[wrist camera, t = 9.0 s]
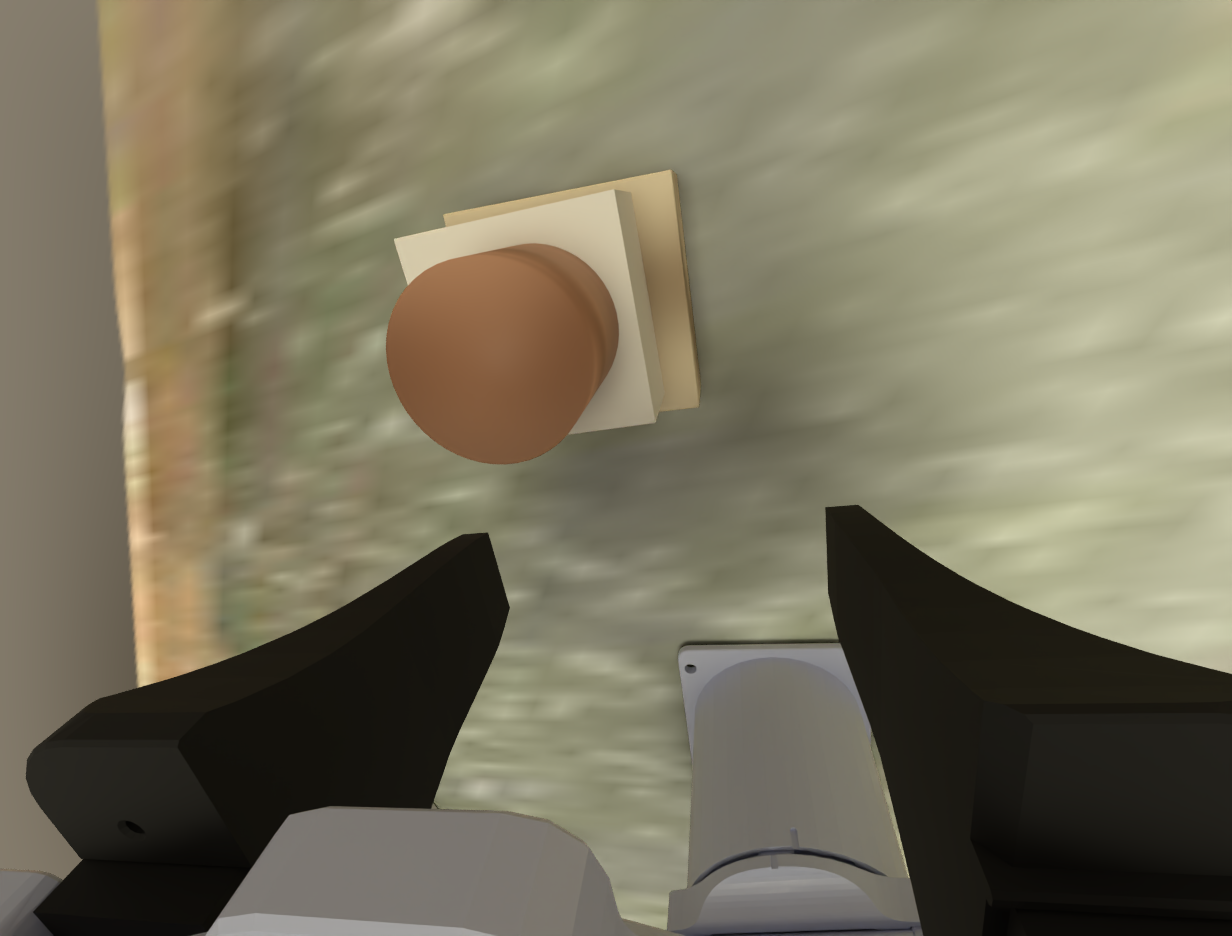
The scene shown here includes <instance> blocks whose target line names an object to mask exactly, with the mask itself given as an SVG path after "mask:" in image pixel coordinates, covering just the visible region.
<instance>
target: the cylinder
mask: <svg viewBox="0 0 1232 936" xmlns="http://www.w3.org/2000/svg"><path fill="white" fill-rule="evenodd" d="M618 340H619V324H618V318H617V312H616V309H615V306H614V302H613V300H612V298H611V295H610V293H609V291H608V289H607V288H606V286H605V284H604V283H603V281H602V280H601V279H600V277H599V276H598V275H597V274H596V272H595V271H594V270H593V269H592V268H591V267H590V266H589V265H588V264H586V263H585V262H584V261H582V260H581V259H580V258H578V257H577V256H575V255H573V254H572V253H570V252H568V251H566V250H563V249H561V248H558V247H555V246H551V245H547V244H537V243H531V244H521V245H515V246H510V247H506V248H501V249H496V250H492V251H487V252H482V253H477V254H473V255H468V256H463V257H459V258H454V259H449V260H447V261H444V262H441V263H438V264H436V265H434V266H432V267H430V268H429V269H427V270H425V271H424V272H422V273H421V274H420V275H419V276H417V277H416V278H415V279H414V280H413V281H412V282H411V283H410V284H409V285H408V286H407V287H406V288H405V290H404V291H403V293H402V294H401V296H400V297H399V299H398V301H397V303H396V305H395V307H394V309H393V311H392V314H391V318H390V321H389V325H388V330H387V338H386V354H387V364H388V368H389V373H390V377H391V380H392V383H393V386H394V389H395V391H396V393H397V395H398V397H399V400H400V401H401V403H402V405H403V406H404V408H405V410H406V411H407V413H408V414H409V415H410V417H411V418H412V419H413V421H414V422H415V423H416V424H417V425H418V426H419V427H420V428H421V429H422V431H423V432H424V433H426V434H427V435H428V436H429V437H430V438H431V439H433V440H434V441H435V442H437V443H438V444H440V445H441V446H443V447H444V448H446V449H448V450H449V451H451V452H453V453H455V454H457V455H460V456H462V457H465V458H467V459H470V460H474V461H478V462H482V463H489V464H512V463H519V462H523V461H527V460H530V459H533V458H536V457H538V456H540V455H542V454H544V453H546V452H547V451H549V450H551V449H552V448H553V447H555V446H556V445H557V444H559V443H560V442H561V441H562V440H563V439H564V438H565V437H566V436H567V435H568V433H569V432H570V431H571V429H572V428H573V426H574V425H575V424H576V422H577V421H578V419H579V418H580V416H581V414H582V413H583V411H584V410H585V408H586V407H587V405H588V404H589V402H590V401H591V399H592V398H593V396H594V394H595V393H596V391H597V390H598V388H599V387H600V385H601V384H602V382H603V381H604V379H605V378H606V376H607V374H608V373H609V371H610V369H611V367H612V365H613V362H614V359H615V356H616V352H617V348H618Z"/></svg>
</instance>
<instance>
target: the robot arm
mask: <svg viewBox="0 0 1232 936" xmlns="http://www.w3.org/2000/svg"><path fill="white" fill-rule="evenodd" d="M825 509H826V539H827V569H828V594H829V598H830V603H831V608H832V612H833V617H834V622H835V626H836V630H837V635H838V638H839V641H840V643H807V644H743V645H688V646H684V647H682V648H681V649H680V650H679V654H678V663H679V671H680V678H681V685H682V693H683V700H684V707H685V715H686V722H687V729H688V737H689V744H690V751H691V759H692V766H693V768H692V791H691V814H690V837H689V860H688V883H687V888H686V889H682V890H674V891H671V892H670V894H669V908H668V922H667V930H663V929H659V928H656V927H652V926H648V925H645V924H641V923H638V922H634V921H630V920H626V919H622V918H621V916H620V914H619V912H618V909H617V905H616V902H615V898H614V894H613V891H612V887H611V883H610V879H609V877H608V875H607V874H606V872H605V871H604V869H603V868H602V866H601V865H600V863H599V862H598V860H597V859H596V857H595V856H594V854H593V853H592V851H591V850H590V848H589V847H588V846H587V844H586V843H585V842H584V841H583V840H581V839H580V838H578V837H576V836H575V835H573V834H571V833H570V832H568V831H567V830H565V829H563V828H562V827H560V826H558V825H557V824H555V823H553V822H552V821H550V820H548V819H543V818H538V817H533V816H529V815H524V814H519V813H514V812H509V811H489V810H453V809H431V808H432V805H433V801H434V798H435V795H436V792H437V789H438V787H439V784H440V781H441V778H442V775H443V772H444V769H445V766H446V763H447V760H448V757H449V755H450V752H451V750H452V747H453V745H454V742H455V740H456V738H457V735H458V733H459V731H460V729H461V727H462V724H463V722H464V720H465V718H466V716H467V714H468V712H469V710H470V707H471V705H472V703H473V701H474V699H475V697H476V695H477V692H478V690H479V688H480V686H481V684H482V682H483V680H484V678H485V675H486V673H487V671H488V669H489V667H490V664H491V662H492V660H493V658H494V656H495V653H496V651H497V649H498V646H499V643H500V640H501V637H502V634H503V630H504V627H505V623H506V620H507V616H508V612H509V609H510V607H509V603H508V600H507V597H506V593H505V590H504V586H503V583H502V579H501V576H500V572H499V569H498V565H497V562H496V559H495V555H494V552H493V548H492V545H491V541H490V538H489V534H488V533H476V534H463V535H461V536H459V537H457V538H454V539H453V540H451V541H449V542H447V543H445V544H444V545H442V546H440V547H439V548H437V549H436V550H434V551H432V552H431V553H429V554H428V555H426V556H425V557H423V558H421V559H420V560H418V561H417V562H415V563H414V564H412V565H410V566H409V567H407V568H406V569H404V570H403V571H401V572H400V573H398V574H396V575H395V576H393V577H392V578H390V579H389V580H387V581H385V582H384V583H382V584H380V585H379V586H377V587H375V588H374V589H372V590H370V591H369V592H367V593H365V594H364V595H362V596H360V597H359V598H357V599H355V600H354V601H352V602H350V603H349V604H347V605H345V606H343V607H341V608H340V609H338V610H336V611H334V612H332V613H330V614H328V615H326V616H325V617H323V618H320V619H318V620H316V621H314V622H312V623H310V624H308V625H306V626H304V627H302V628H300V629H298V630H296V631H294V632H292V633H289V634H287V635H285V636H282V637H280V638H278V639H275V640H273V641H271V642H268V643H266V644H264V645H261V646H259V647H257V648H254V649H252V650H250V651H247V652H245V653H242V654H240V655H237V656H234V657H232V658H229V659H226V660H224V661H221V662H218V663H216V664H213V665H210V666H207V667H204V668H201V669H198V670H195V671H192V672H189V673H186V674H183V675H180V676H177V677H174V678H171V679H167V680H164V681H160V682H157V683H153V684H150V685H146V686H143V687H139V688H136V689H132V690H129V691H125V692H122V693H118V694H115V695H111V696H108V697H103V698H100V699H98V700H96V701H94V702H92V703H91V704H89V705H88V706H86V707H85V708H84V709H82V710H81V711H80V712H79V713H77V714H76V715H75V716H74V717H73V718H71V719H70V720H69V721H68V722H66V723H65V724H64V725H63V726H61V727H60V728H59V729H58V730H56V731H55V732H54V733H53V734H52V735H50V736H49V737H48V738H47V739H46V740H44V741H43V742H42V743H40V744H39V745H38V746H37V747H36V748H34V749H33V751H32V753H31V754H30V756H29V757H28V759H27V768H26V780H27V783H28V786H29V789H30V792H31V794H32V795H33V797H34V799H35V800H36V802H37V803H38V805H39V806H40V808H41V809H42V810H43V811H44V813H45V814H46V815H47V817H48V818H49V819H50V820H51V822H52V823H53V824H54V825H55V827H56V828H57V829H58V831H59V832H60V833H61V834H62V836H63V837H64V838H65V839H66V841H67V842H68V843H69V844H70V846H71V847H72V848H73V849H74V851H75V852H76V853H77V854H78V856H79V857H80V858H81V859H83V860H82V861H81V862H80V863H79V864H78V865H77V866H76V867H75V868H74V869H73V870H72V871H71V873H70V874H69V875H68V876H67V877H66V878H65V879H64V880H62V879H60V878H59V877H57V876H55V875H53V874H51V873H47V872H43V871H32V870H16V869H0V936H1232V674H1229V673H1225V672H1221V671H1217V670H1213V669H1209V668H1206V667H1202V666H1198V665H1194V664H1190V663H1186V662H1182V661H1178V660H1174V659H1170V658H1167V657H1163V656H1159V655H1156V654H1152V653H1149V652H1145V651H1142V650H1139V649H1136V648H1133V647H1130V646H1127V645H1123V644H1120V643H1117V642H1114V641H1111V640H1108V639H1105V638H1101V637H1099V636H1096V635H1093V634H1090V633H1087V632H1085V631H1082V630H1079V629H1076V628H1073V627H1071V626H1068V625H1066V624H1063V623H1061V622H1058V621H1056V620H1053V619H1051V618H1048V617H1046V616H1043V615H1041V614H1038V613H1036V612H1033V611H1031V610H1029V609H1026V608H1024V607H1022V606H1020V605H1017V604H1015V603H1013V602H1011V601H1008V600H1006V599H1004V598H1002V597H1000V596H998V595H996V594H994V593H992V592H990V591H988V590H986V589H984V588H982V587H980V586H978V585H976V584H975V583H973V582H971V581H969V580H967V579H965V578H964V577H962V576H960V575H958V574H957V573H955V572H953V571H952V570H950V569H949V568H947V567H945V566H944V565H942V564H940V563H939V562H937V561H935V560H934V559H932V558H931V557H929V556H928V555H926V554H925V553H923V552H922V551H920V550H919V549H917V548H916V547H914V546H913V545H911V544H910V543H909V542H907V541H906V540H904V539H903V538H902V537H900V536H899V535H897V534H896V533H895V532H893V531H892V530H891V529H889V528H888V527H887V526H885V525H884V524H883V523H881V522H880V521H879V520H877V519H876V518H875V517H874V516H872V515H871V514H870V513H868V512H867V511H866V510H864V509H863V508H862V507H860V506H859V505H849V506H836V507H825ZM688 664H692V665H694V666H695V667H688V666H686V665H688ZM871 729H872V732H873V734H874V738H875V741H876V744H877V747H878V750H879V754H880V757H881V761H882V765H883V769H884V773H885V777H886V781H887V785H888V789H889V792H890V796H891V800H892V804H893V808H894V813H895V817H896V821H897V825H898V829H899V833H900V838H901V842H902V846H903V850H904V854H905V859H906V863H907V867H908V871H909V876H910V878H908V876H907V872H906V869H905V865H904V862H903V858H902V855H901V851H900V848H899V844H898V841H897V837H896V834H895V830H894V827H893V823H892V820H891V816H890V813H889V809H888V806H887V802H886V799H885V795H884V792H883V788H882V785H881V781H880V778H879V774H878V771H877V767H876V764H875V760H874V757H873V753H872V750H871Z"/></svg>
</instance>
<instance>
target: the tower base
mask: <svg viewBox="0 0 1232 936" xmlns="http://www.w3.org/2000/svg"><path fill="white" fill-rule="evenodd" d="M613 189H616V190H621V191H626V192H631V196H632V202H633V208H634V213H635V219H636V225H637V231H638V237H639V243H640V249H641V255H642V261H643V267H644V273H645V279H646V285H647V291H648V296H649V302H650V308H651V314H652V320H653V326H654V332H655V338H656V344H657V350H658V356H659V362H660V368H661V374H662V380H663V385H664V391H665V393H664V397H663V400H662V403H661V407H660V410H659V412H662V411H671V410H679V409H688V408H697V407H699V403H700V393H701V381H700V372H699V363H698V354H697V346H696V337H695V328H694V320H693V311H692V302H691V294H690V285H689V276H688V268H687V259H686V250H685V242H684V233H683V224H682V215H681V207H680V198H679V189H678V181H677V174H675V173H674V172H673V171H672V170H667V171H662V172H657V173H652V174H647V175H642V176H636V177H631V178H626V179H621V180H616V181H611V182H606V183H601V184H596V185H591V186H586V187H581V188H575V189H570V190H565V191H560V192H555V193H550V194H545V195H540V196H535V197H530V198H525V199H520V200H514V201H509V202H504V203H499V204H494V205H489V206H484V207H479V208H474V209H469V210H464V211H459V212H453V213H448V214H443V216H444V220H445V224H446V227H449V226H454V225H458V224H462V223H467V222H471V221H476V220H480V219H485V218H489V217H493V216H498V215H502V214H507V213H511V212H515V211H520V210H524V209H529V208H533V207H538V206H542V205H546V204H551V203H555V202H560V201H564V200H568V199H573V198H577V197H582V196H586V195H591V194H595V193H599V192H604V191H608V190H613Z"/></svg>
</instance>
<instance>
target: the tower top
mask: <svg viewBox="0 0 1232 936" xmlns="http://www.w3.org/2000/svg"><path fill="white" fill-rule="evenodd" d="M394 242H395V245H396V248H397V251H398V255H399V258H400V261H401V264H402V267H403V271H404V274H405V277H406V280H407V283H408V285H409V284H410V283H411V282H412V281H413V280H414V279H415V278H416V277H417V276H419V275H420V274H421V273H422V272H424V271H425V270H427V269H429V268H430V267H432V266H434V265H436V264H438V263H441V262H444V261H447V260H449V259H454V258H459V257H463V256H468V255H473V254H477V253H482V252H487V251H492V250H496V249H501V248H506V247H510V246H515V245H521V244H531V243H537V244H547V245H551V246H555V247H558V248H561V249H563V250H566V251H568V252H570V253H572V254H573V255H575V256H577V257H578V258H580V259H581V260H582V261H584V262H585V263H586V264H588V265H589V266H590V267H591V268H592V269H593V270H594V271H595V272H596V274H597V275H598V276H599V277H600V279H601V280H602V281H603V283H604V284H605V286H606V288H607V289H608V291H609V293H610V295H611V298H612V300H613V302H614V306H615V309H616V312H617V318H618V324H619V340H618V348H617V352H616V356H615V359H614V362H613V365H612V367H611V369H610V371H609V373H608V374H607V376H606V378H605V379H604V381H603V382H602V384H601V385H600V387H599V388H598V390H597V391H596V393H595V394H594V396H593V398H592V399H591V401H590V402H589V404H588V405H587V407H586V408H585V410H584V411H583V413H582V414H581V416H580V418H579V419H578V421H577V422H576V424H575V425H574V426H573V428H572V429H571V431H570V432H569V433H568V435H569V434H576V433H584V432H591V431H599V430H606V429H613V428H621V427H628V426H636V425H643V424H651V423H656V420H657V417H658V413H659V410H660V407H661V403H662V400H663V397H664V393H665V391H664V385H663V380H662V374H661V368H660V362H659V356H658V350H657V344H656V338H655V332H654V326H653V320H652V314H651V308H650V302H649V296H648V291H647V285H646V279H645V273H644V267H643V261H642V255H641V249H640V243H639V237H638V231H637V225H636V219H635V213H634V208H633V202H632V196H631V192H626V191H621V190H616V189H613V190H608V191H604V192H599V193H595V194H591V195H586V196H582V197H577V198H573V199H568V200H564V201H560V202H555V203H551V204H546V205H542V206H538V207H533V208H529V209H524V210H520V211H515V212H511V213H507V214H502V215H498V216H493V217H489V218H485V219H480V220H476V221H471V222H467V223H462V224H458V225H454V226H449V227H445V228H440V229H436V230H431V231H427V232H423V233H418V234H414V235H409V236H405V237H401V238H396V239H394Z"/></svg>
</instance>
